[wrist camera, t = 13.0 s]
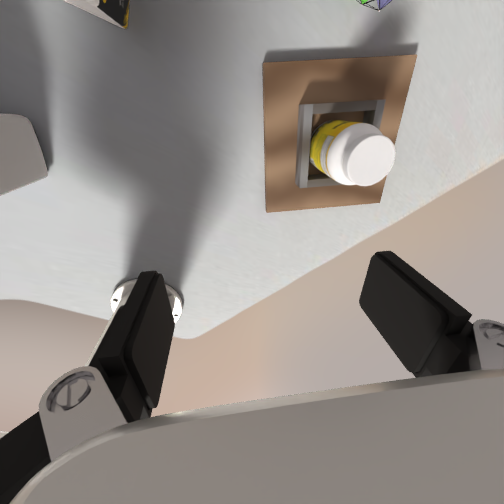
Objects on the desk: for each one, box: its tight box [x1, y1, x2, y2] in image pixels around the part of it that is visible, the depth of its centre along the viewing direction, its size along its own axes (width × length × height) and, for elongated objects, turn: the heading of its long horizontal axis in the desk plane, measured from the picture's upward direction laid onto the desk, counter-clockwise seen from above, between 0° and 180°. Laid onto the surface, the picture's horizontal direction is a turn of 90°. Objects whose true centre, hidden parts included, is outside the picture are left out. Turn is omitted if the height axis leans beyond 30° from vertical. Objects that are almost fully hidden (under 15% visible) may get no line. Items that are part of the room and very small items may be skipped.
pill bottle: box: [309, 120, 396, 186], centre depth 27 cm, size 6×6×11 cm
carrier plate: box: [263, 55, 417, 213], centre depth 31 cm, size 18×18×4 cm
